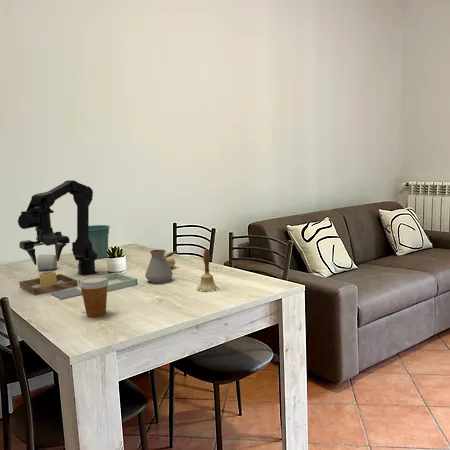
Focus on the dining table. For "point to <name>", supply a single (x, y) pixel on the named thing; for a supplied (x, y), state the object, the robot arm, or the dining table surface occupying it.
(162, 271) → the coffee pot
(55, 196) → the robot arm
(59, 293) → the rubber mat
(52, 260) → the grey cylinder
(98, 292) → the disposable coffee cup
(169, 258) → the onion
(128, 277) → the sage tray
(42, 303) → the dining table surface
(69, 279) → the walnut tray
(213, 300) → the dining table surface
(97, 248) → the flower pot
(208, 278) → the hand bell
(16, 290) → the dining table surface
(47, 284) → the letter block
